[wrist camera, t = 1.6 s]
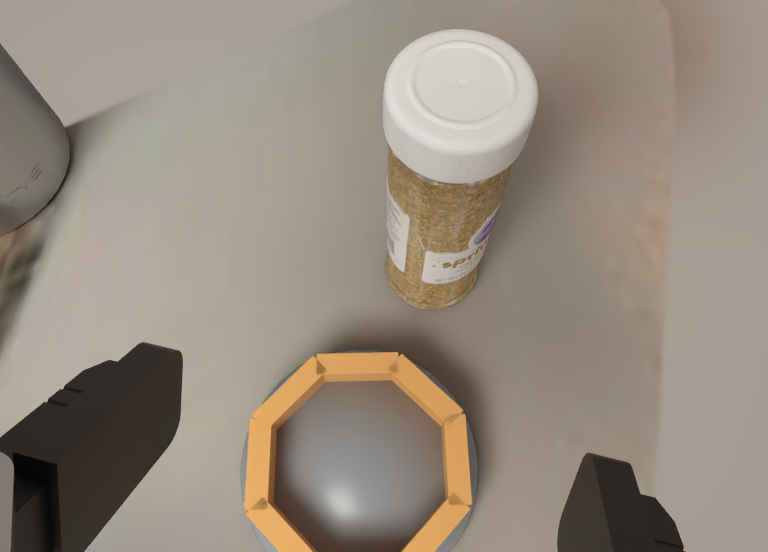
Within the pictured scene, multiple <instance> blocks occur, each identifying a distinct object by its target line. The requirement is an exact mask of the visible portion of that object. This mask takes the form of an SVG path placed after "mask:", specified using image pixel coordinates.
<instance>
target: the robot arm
mask: <svg viewBox="0 0 768 552" xmlns="http://www.w3.org/2000/svg"><path fill="white" fill-rule="evenodd" d="M69 160H70V143H69V139H68V135H67V131H66V129H65V127H64V126H63V124H62V122H61V121H60V119H59V117H58V116H57V115H56V114H55V112H54V111H53V110H52V109H51V108H50V106H49V105H48V104H47V102H46V101H45V100H44V99H43V97H42V96H41V95H40V94H39V93H38V91H37V90H36V89H35V87H34V86H33V85H32V84H31V82H30V81H29V80H28V78H27V77H26V76H25V75H24V74H23V72H22V71H21V69H20V68H19V67H18V65H17V64H16V63H15V62H14V60H13V59H12V58H11V57H10V55H9V54H8V53H7V52H6V50H5V49H4V48H3V47H2V45H1V44H0V235H3V234H5V233H7V232H10V231H12V230H14V229H16V228H17V227H19V226H20V225H22V224H23V223H25V222H27V221H28V220H30V219H31V218H32V217H33V216H35V215H36V214H37V213H38V212H39V211H40V210H41V209H42V208H44V207H45V206H46V205H47V203H48V202H49V201H50V199H51V198H52V197H53V196H54V194H55V193H56V192H57V191H58V189H59V187H60V185H61V183H62V181H63V179H64V177H65V175H66V171H67V167H68V164H69ZM182 369H183V358H182V354H181V352H180V351H178V350H174V349H170V348H166V347H162V346H157V345H153V344H149V343H145V342H142V343H140V344H138V345H137V346H136V347H135V348H133V349H132V350H131V351H130V352H129V353H128V354H126V355H125V356H124V357H123V358H122V359H121V360H119V361H118V362H116V361H112V360H108V361H106V362H103V363H101V364H98V365H96V366H93V367H91V368H89V369H86V370H84V371H82V372H81V373H80V374H79V375H77V376H76V377H75V378H74V379H72V380H71V381H70V382H69V383H67V384H66V385H65V386H64V389H63V390H62V389H60V390H59V391H57V392H56V393H55V394H54V395H53V396H51V397H50V398H49V399H48V402H47V403H46V402H44V403H43V404H41V405H40V406H39V407H38V408H36V409H35V410H34V411H33V412H31V413H30V414H29V415H28V416H26V417H25V418H24V419H23V420H22V421H20V422H19V423H18V424H17V425H15V426H14V427H13V428H12V429H10V430H9V431H8V432H7V433H5V434H4V435H3V436H2V437H0V552H84V551H85V550H86V549H87V547H88V546H89V545H90V544H91V542H92V541H93V540H94V539H95V537H96V536H97V535H98V534H99V532H100V531H101V530H102V529H103V527H104V526H105V525H106V524H107V522H108V521H109V520H110V519H111V517H112V516H113V515H114V514H115V512H116V511H117V510H118V509H119V508H120V506H121V505H122V504H123V503H124V501H125V500H126V499H127V498H128V496H129V495H130V494H131V493H132V491H133V490H134V489H135V488H136V486H137V485H138V484H139V483H140V481H141V480H142V479H143V478H144V476H145V475H146V474H147V473H148V471H149V470H150V469H151V468H152V466H153V465H154V464H155V463H156V461H157V460H158V459H159V458H160V456H161V455H162V454H163V453H164V451H165V450H166V449H167V448H168V446H169V445H170V443H171V442H172V440H173V438H174V436H175V434H176V431H177V428H178V425H179V421H180V413H181V391H182ZM557 546H558V552H685V551H683V547H684V546H683V544H682V541H681V538H680V535H679V532H678V530H677V527H676V524H675V522H674V521H673V519H672V518H671V517H670V516H669V514H668V513H667V512H666V511H665V509H664V508H663V507H662V506H661V504H660V503H659V502H658V501H657V499H656V498H654V497H650V496H646V495H642V494H640V492H639V488H638V485H637V482H636V479H635V476H634V472H633V469H632V467H631V465H630V463H628V462H624V461H620V460H616V459H612V458H608V457H604V456H600V455H596V454H592V453H587V454H586V455H585V456H584V458H583V459H582V462H581V464H580V467H579V470H578V472H577V475H576V478H575V480H574V483H573V486H572V488H571V491H570V494H569V497H568V499H567V502H566V505H565V507H564V510H563V513H562V516H561V519H560V524H559V530H558V542H557Z"/></svg>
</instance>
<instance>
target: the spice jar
mask: <svg viewBox="0 0 768 552" xmlns="http://www.w3.org/2000/svg"><path fill="white" fill-rule="evenodd" d="M538 97H539V94H538V85H537V81H536V77H535V75H534V72H533V70H532V69H531V67H530V65H529V63H528V62H527V61H526V60H525V58H524V57H523V56H522V55H521V54H520V53H519V52H518V51H517V50H516V49H515V48H514V47H512V46H511V45H509V44H508V43H506V42H505V41H503V40H501V39H499V38H498V37H495V36H493V35H490V34H487V33H483V32H479V31H474V30H466V29H450V30H442V31H437V32H433V33H430V34H427V35H425V36H423V37H421V38H418V39H416V40H415V41H413V42H411V43H410V44H409V45H407V46H406V47H405V48H404V49H403V50H402V51H401V52H400V53H399V54H398V55H397V56H396V57H395V59H394V60H393V62H392V63H391V65H390V67H389V69H388V72H387V75H386V78H385V83H384V94H383V127H384V133H385V137H386V140H387V144H388V169H387V179H386V190H387V196H386V240H387V248H388V254H387V259H386V264H385V266H386V268H385V269H386V274H387V278H388V281H389V284H390V285H391V287H392V289H393V290H394V291H395V293H396V294H397V296H399V297H400V298H401V299H402V300H404V301H405V302H406V303H407V304H409V305H411V306H413V307H417V308H420V309H425V310H430V309H433V310H436V309H443V308H448V307H451V306H453V305H455V304H456V303H458V302H459V301H460V300H461V299H463V298H464V297H465V296H467V295H468V294H469V293H470V291H471V289H472V288H473V286H474V284H475V281H476V278H477V273H478V265H479V262H480V260H481V258H482V256H483V254H484V251H485V248H486V245H487V242H488V239H489V236H490V233H491V230H492V227H493V224H494V221H495V218H496V215H497V212H498V209H499V206H500V203H501V195H502V194H503V190H504V187H505V184H506V181H507V177H508V175H509V171H510V168H511V166H512V163H513V162H514V161H515V160H516V159H517V157H518V156H519V155H520V153H521V151H522V150H523V148H524V146H525V143H526V141H527V138H528V135H529V133H530V130H531V127H532V124H533V121H534V118H535V114H536V111H537V106H538Z"/></svg>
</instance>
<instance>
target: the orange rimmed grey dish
mask: <svg viewBox="0 0 768 552" xmlns="http://www.w3.org/2000/svg"><path fill="white" fill-rule="evenodd" d="M252 416H253V417H254V419H250V423H249V431H248V434H247V437H246V441H245V445H244V449H243V455H242V462H241V488H242V496H243V502H244V510H246V515H247V517H248V519H249V522H250V524H251V526H252V529H253V531H254V533H255V535H256V536H257V538H258V540H259V542H260V544H261V545H262V547H263V548H264V549H265V550H266V552H450V551H451V549H452V548H453V547H454V545H455V544H456V543H457V541H458V540H459V538H460V536H461V534H462V532H463V530H464V528H465V527H466V524H467V522H468V519H469V517H470V514H471V511H472V508H473V504H474V500H475V496H476V489H477V480H478V461H477V454H476V447H475V443H474V439H473V435H472V432H471V429H470V426H469V424H468V421H467V419H466V415H465V414H464V413H463V409H462V408H461V407H460V406H459V404H458V402H457V401H456V400H455V398H454V397H453V396H452V394H451V393H450V392H449V390H448V389H447V388H446V387H445V386H444V385H443V384H442V383H441V382H440V381H439V380H438V379H437V378H436V377H434V376H433V375H432V374H431V373H429V372H428V371H427V370H425V369H424V368H422V367H420V366H419V365H417V364H416V363H414V362H412V361H409V360H408V359H407V358H406V357H405V356H404V355H403V354H401V355H400V356H398V352H381V351H375V350H359V349H358V350H347V351H341V352H336V353H331V354H317V359H316V358H315V357H314V356H312V357H311V358H310V359H309V360H308V361H307V362H306V363H305V364H304V365H303V366H301V367H300V368H298V369H297V370H295V371H294V372H292V373H291V374H289V375H288V376H287V377H286V378H285V379H284V380H282V381H281V382H280V383H279V384H278V385H277V386H276V387H275V388H274V390H273V391H272V392H271V393H270V394H269V395H268V397H267V398H266V399H265V401H264V402H263V404H262V405H261V406H260V407H259V408H258V409H257V410H256V411H255V412H254V413H253V414H252Z"/></svg>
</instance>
